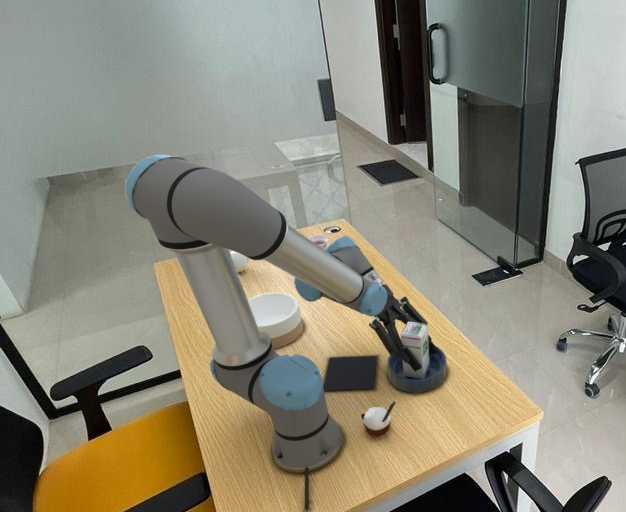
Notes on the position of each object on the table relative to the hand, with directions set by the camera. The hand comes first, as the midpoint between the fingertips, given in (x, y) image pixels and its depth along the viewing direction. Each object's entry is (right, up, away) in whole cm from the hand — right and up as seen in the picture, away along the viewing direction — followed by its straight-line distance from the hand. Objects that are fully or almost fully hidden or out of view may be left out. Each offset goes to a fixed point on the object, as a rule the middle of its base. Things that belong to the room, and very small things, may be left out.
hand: (427, 361), depth 130 cm
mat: (-21, -4, +4) cm, 22 cm away
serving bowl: (-3, -4, +5) cm, 7 cm away
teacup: (-46, +34, +56) cm, 80 cm away
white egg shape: (-71, +31, +43) cm, 88 cm away
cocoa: (-10, -16, -12) cm, 22 cm away
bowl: (-48, +7, +18) cm, 52 cm away
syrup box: (-3, -3, +4) cm, 6 cm away
